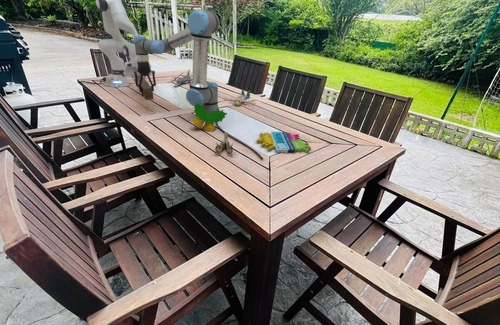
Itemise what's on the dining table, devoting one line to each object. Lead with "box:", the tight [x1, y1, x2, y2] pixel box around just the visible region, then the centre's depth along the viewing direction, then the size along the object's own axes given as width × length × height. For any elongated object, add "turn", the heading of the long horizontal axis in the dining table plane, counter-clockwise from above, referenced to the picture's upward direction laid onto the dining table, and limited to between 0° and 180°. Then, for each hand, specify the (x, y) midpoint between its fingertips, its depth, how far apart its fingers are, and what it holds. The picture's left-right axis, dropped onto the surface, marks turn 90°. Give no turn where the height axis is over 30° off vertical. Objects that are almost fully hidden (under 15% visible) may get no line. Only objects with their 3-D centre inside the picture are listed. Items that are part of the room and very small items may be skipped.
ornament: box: [191, 102, 228, 132], centre depth 162 cm, size 21×8×15 cm, turn 105°
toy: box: [223, 89, 257, 106], centre depth 219 cm, size 28×7×30 cm
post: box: [134, 76, 154, 101], centre depth 197 cm, size 53×6×8 cm, turn 28°
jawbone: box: [214, 131, 234, 156], centre depth 136 cm, size 9×15×10 cm
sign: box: [256, 131, 312, 154], centre depth 152 cm, size 26×2×30 cm
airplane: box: [172, 69, 193, 88], centre depth 263 cm, size 38×32×10 cm
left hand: (139, 81), depth 212 cm, fingers closed on post, 5 cm apart
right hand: (147, 96), depth 184 cm, fingers closed on post, 6 cm apart
